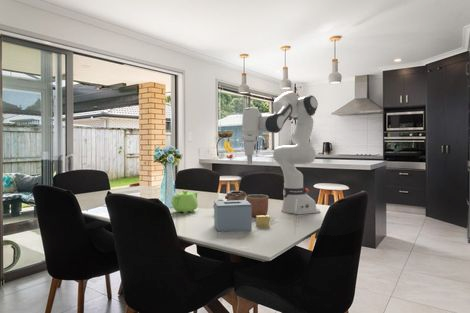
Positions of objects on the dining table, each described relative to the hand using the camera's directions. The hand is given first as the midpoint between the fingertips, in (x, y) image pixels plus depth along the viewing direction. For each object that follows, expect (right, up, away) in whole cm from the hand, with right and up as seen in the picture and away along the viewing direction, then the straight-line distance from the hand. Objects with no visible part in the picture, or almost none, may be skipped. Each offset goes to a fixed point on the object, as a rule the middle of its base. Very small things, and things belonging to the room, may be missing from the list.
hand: (249, 164), depth 167 cm
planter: (+5, -29, +10) cm, 31 cm away
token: (+6, -30, -12) cm, 33 cm away
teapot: (-37, -29, +21) cm, 51 cm away
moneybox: (-9, -30, -15) cm, 35 cm away
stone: (-15, -29, +13) cm, 35 cm away
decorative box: (-8, -28, +36) cm, 47 cm away
